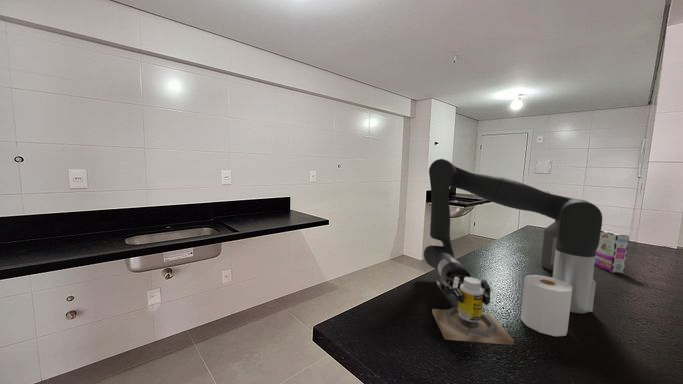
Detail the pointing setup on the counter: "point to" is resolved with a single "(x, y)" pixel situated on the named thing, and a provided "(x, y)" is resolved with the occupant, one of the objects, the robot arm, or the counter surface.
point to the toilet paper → (546, 304)
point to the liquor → (550, 245)
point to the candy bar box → (612, 251)
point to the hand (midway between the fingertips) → (474, 300)
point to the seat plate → (471, 328)
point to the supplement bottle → (471, 300)
